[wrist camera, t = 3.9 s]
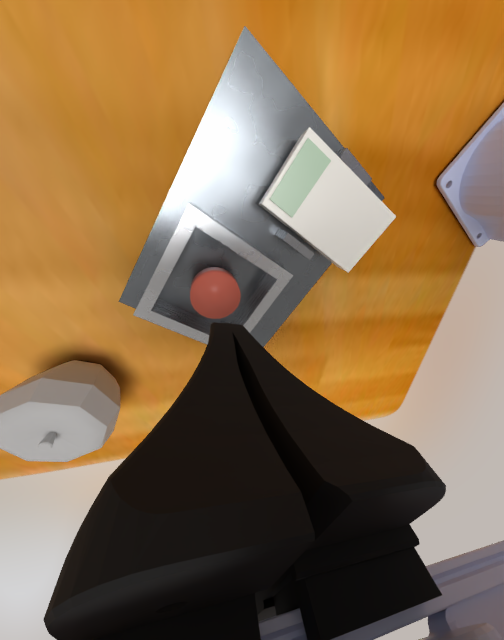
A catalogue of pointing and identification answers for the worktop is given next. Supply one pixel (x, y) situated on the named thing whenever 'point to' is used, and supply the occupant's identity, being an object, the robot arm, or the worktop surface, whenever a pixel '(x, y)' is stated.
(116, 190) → the worktop surface
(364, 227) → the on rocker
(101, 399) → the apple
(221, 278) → the button
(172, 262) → the panel
